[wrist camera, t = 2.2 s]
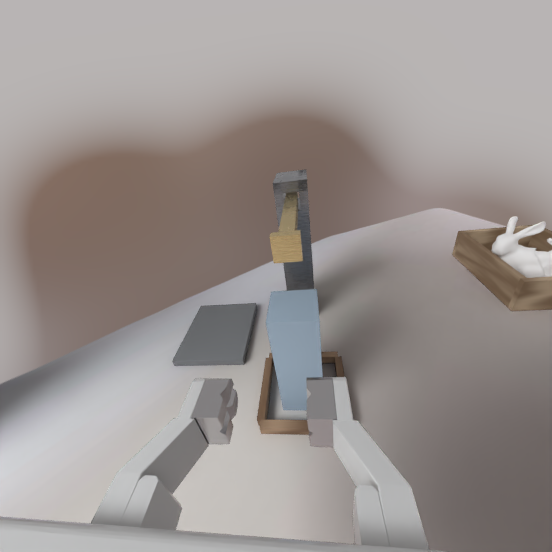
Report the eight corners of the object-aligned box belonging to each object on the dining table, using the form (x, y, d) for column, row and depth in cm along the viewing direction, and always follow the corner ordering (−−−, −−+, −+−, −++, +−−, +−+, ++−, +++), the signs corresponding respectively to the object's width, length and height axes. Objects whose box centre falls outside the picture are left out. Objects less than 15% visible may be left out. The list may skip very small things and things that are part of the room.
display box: (511, 310, 37) (524, 281, 34) (452, 254, 51) (458, 231, 48) (620, 306, 35) (643, 275, 32) (526, 249, 49) (537, 224, 46)
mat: (174, 365, 36) (172, 360, 36) (202, 310, 46) (200, 306, 46) (243, 364, 35) (242, 359, 34) (257, 307, 45) (256, 303, 44)
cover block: (283, 410, 29) (265, 322, 22) (285, 375, 32) (271, 291, 26) (324, 410, 28) (319, 320, 21) (321, 374, 32) (316, 289, 25)
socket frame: (257, 433, 27) (255, 427, 26) (268, 359, 35) (266, 353, 34) (352, 435, 25) (352, 429, 25) (340, 357, 34) (340, 351, 33)
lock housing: (290, 317, 41) (272, 183, 30) (291, 295, 46) (277, 173, 35) (315, 316, 41) (306, 179, 30) (314, 294, 46) (306, 169, 35)
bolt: (273, 263, 22) (269, 236, 20) (284, 207, 34) (281, 189, 33) (302, 261, 21) (300, 234, 20) (302, 206, 34) (300, 187, 32)
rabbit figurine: (464, 278, 45) (481, 225, 40) (471, 259, 50) (488, 210, 45) (561, 300, 38) (597, 239, 33) (560, 276, 42) (591, 220, 37)
